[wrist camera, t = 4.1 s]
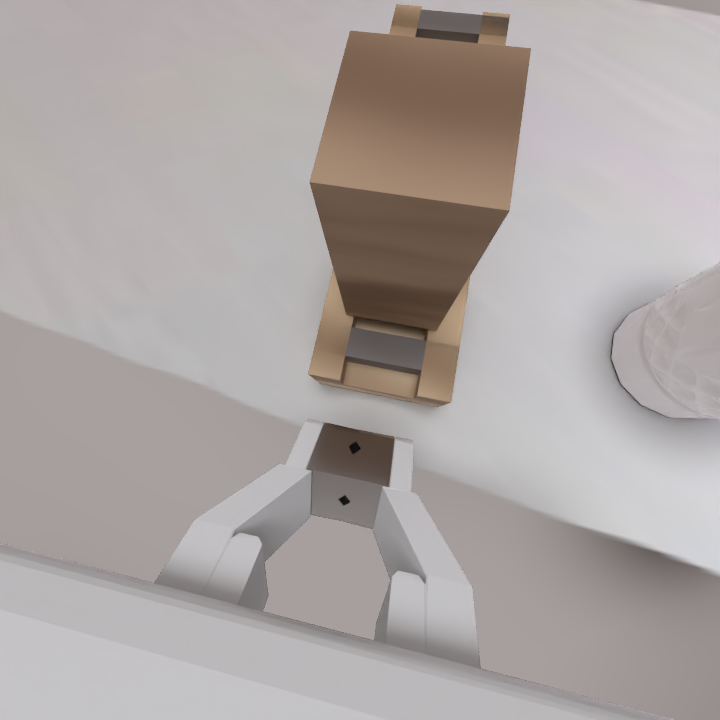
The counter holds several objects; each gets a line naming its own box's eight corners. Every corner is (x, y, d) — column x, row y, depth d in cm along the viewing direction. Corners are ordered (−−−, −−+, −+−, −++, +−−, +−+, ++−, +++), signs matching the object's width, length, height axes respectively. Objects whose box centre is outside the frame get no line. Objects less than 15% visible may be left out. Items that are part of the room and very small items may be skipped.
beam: (437, 407, 19) (451, 402, 16) (320, 383, 20) (308, 373, 16) (490, 74, 23) (509, 14, 20) (393, 64, 24) (396, 4, 21)
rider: (431, 338, 17) (509, 210, 7) (348, 323, 18) (309, 181, 8) (444, 261, 18) (530, 48, 8) (365, 249, 19) (350, 30, 8)
